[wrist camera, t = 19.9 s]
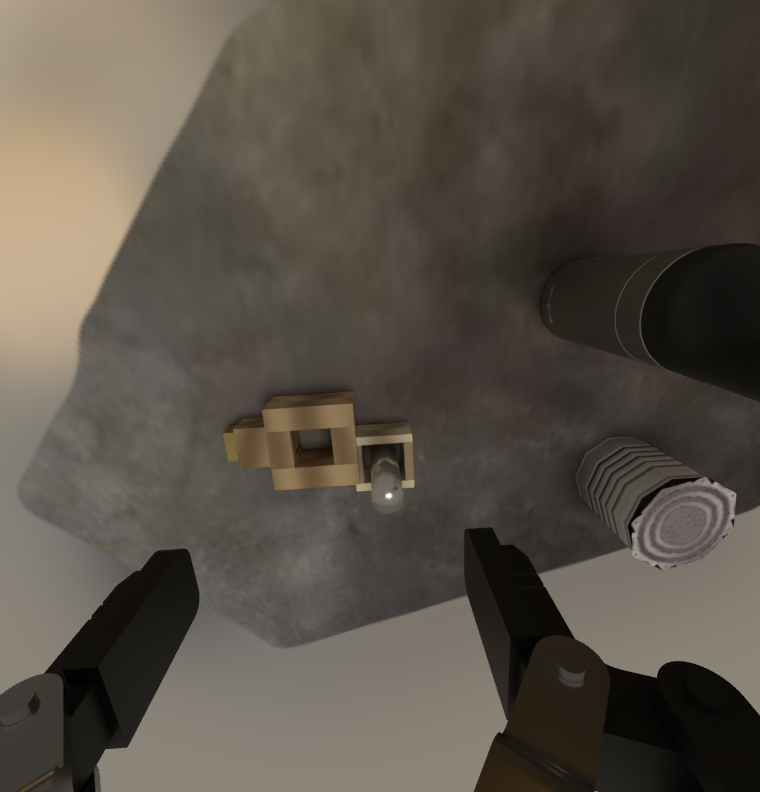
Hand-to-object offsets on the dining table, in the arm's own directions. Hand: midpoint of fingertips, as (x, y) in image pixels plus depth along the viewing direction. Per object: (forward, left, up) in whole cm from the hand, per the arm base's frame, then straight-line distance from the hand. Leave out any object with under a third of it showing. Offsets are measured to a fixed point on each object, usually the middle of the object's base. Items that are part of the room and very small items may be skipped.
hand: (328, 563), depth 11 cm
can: (-33, +19, -36) cm, 53 cm away
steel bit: (-2, +13, -36) cm, 38 cm away
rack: (-2, +13, -36) cm, 38 cm away
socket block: (+8, +10, -36) cm, 38 cm away
